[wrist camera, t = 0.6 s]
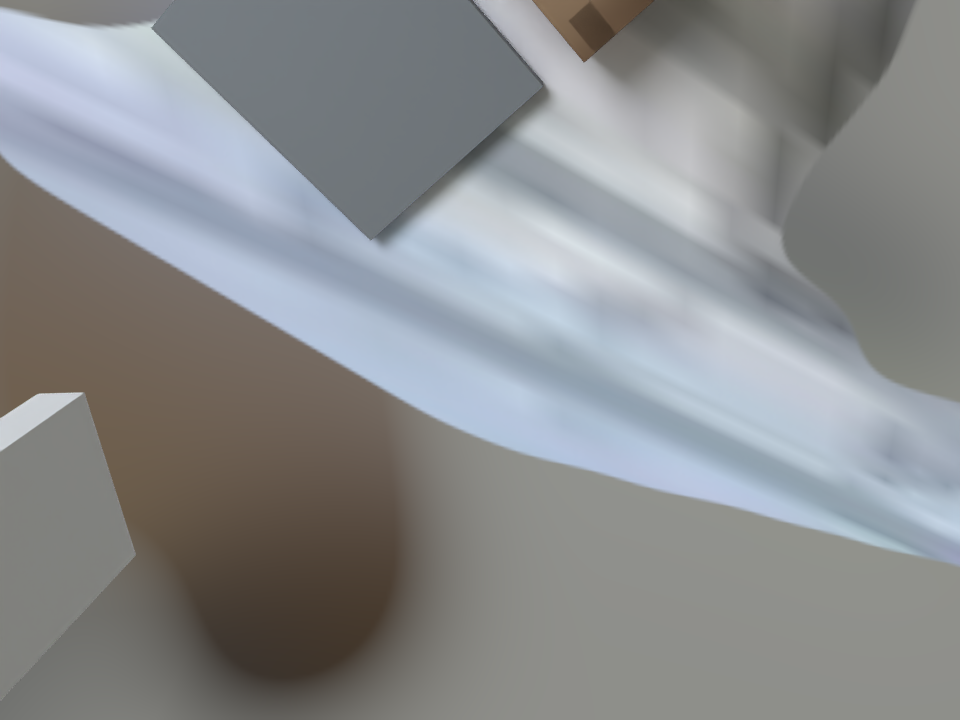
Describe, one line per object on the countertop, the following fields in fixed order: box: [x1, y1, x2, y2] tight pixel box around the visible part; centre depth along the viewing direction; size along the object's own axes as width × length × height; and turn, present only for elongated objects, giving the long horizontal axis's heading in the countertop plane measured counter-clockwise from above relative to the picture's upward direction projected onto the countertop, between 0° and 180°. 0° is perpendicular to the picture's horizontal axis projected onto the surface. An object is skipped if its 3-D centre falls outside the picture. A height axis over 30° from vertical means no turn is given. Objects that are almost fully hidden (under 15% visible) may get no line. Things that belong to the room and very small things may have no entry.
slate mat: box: [152, 0, 543, 240], centre depth 35 cm, size 12×10×1 cm
